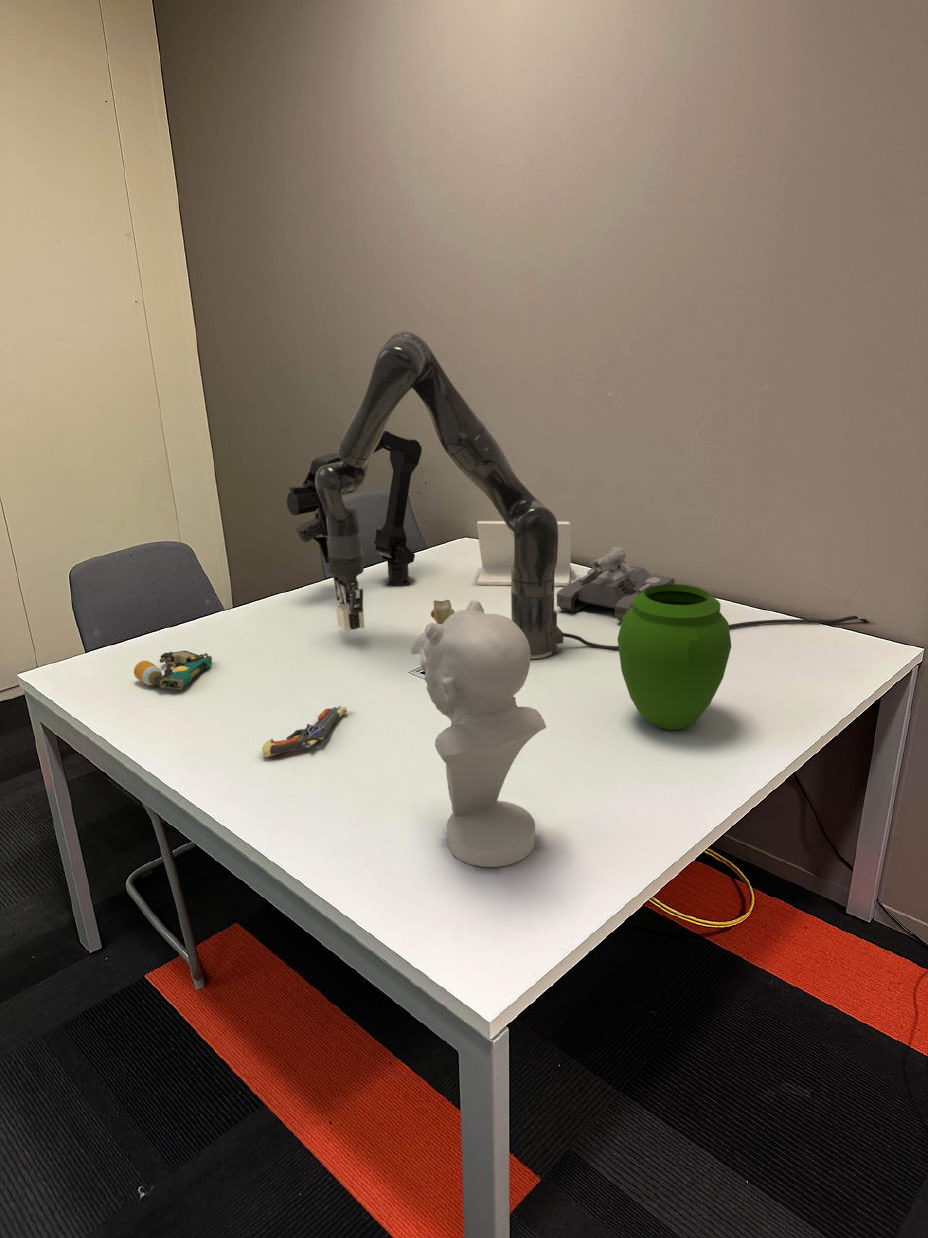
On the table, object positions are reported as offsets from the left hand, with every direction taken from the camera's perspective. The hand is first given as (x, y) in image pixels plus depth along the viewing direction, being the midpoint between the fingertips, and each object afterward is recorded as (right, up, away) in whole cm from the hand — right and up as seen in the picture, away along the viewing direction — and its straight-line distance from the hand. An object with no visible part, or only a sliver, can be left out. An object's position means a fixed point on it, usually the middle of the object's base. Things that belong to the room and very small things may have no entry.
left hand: (333, 567), depth 221 cm
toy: (+72, -10, -7) cm, 73 cm away
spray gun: (-27, -26, -40) cm, 55 cm away
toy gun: (+5, -35, -67) cm, 75 cm away
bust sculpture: (+35, -45, -96) cm, 112 cm away
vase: (+71, -32, -66) cm, 102 cm away
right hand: (+8, -15, -27) cm, 31 cm away
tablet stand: (+51, -1, +18) cm, 54 cm away
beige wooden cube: (+8, -15, -26) cm, 31 cm away
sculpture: (+30, -24, -42) cm, 57 cm away
